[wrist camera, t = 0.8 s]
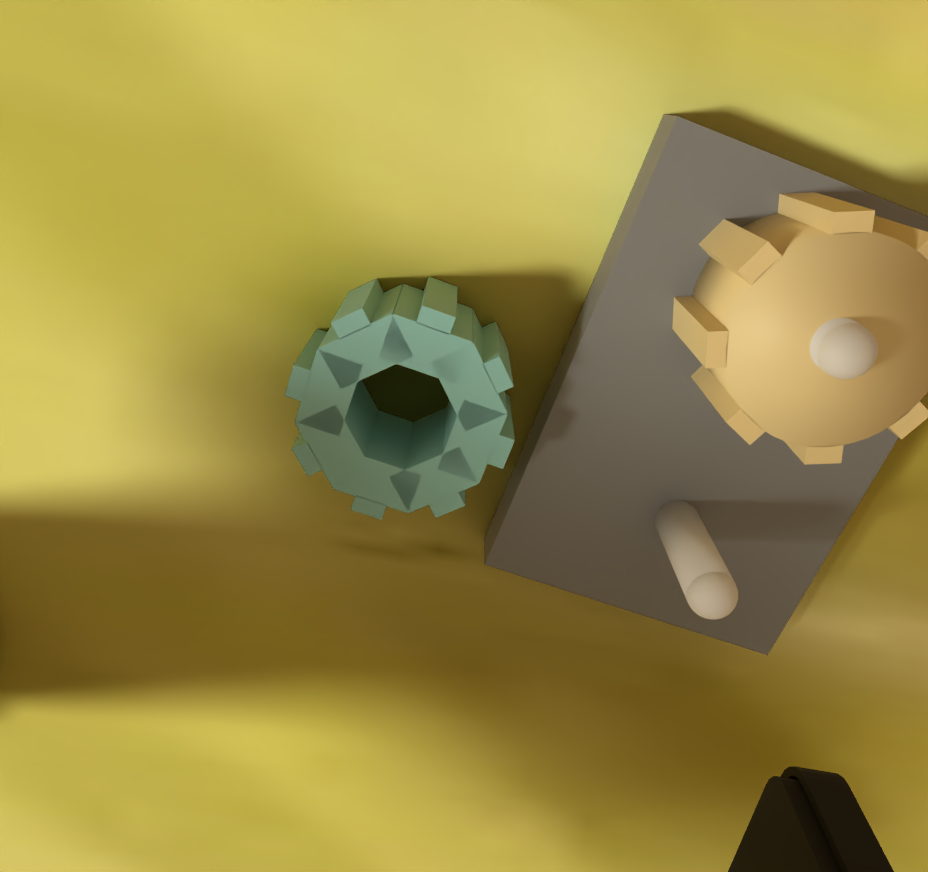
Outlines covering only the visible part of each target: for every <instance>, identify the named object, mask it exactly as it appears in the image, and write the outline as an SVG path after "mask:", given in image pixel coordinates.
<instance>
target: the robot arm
mask: <svg viewBox="0 0 928 872" xmlns="http://www.w3.org/2000/svg"><path fill="white" fill-rule="evenodd" d="M728 872H894V871H893V869H892V867H891V865H890V863H889V862H888V860H887V858H886V856H885V854H884V852H883V850H882V848H881V846H880V844H879V842H878V841H877V839H876V837H875V835H874V833H873V831H872V829H871V827H870V825H869V823H868V821H867V819H866V818H865V816H864V814H863V812H862V810H861V808H860V806H859V804H858V802H857V800H856V798H855V797H854V795H853V793H852V791H851V789H850V787H849V785H848V784H847V782H846V781H845V779H844V778H843V777H842V776H840V775H839V774H836V773H830V772H824V771H818V770H812V769H806V768H800V767H788V768H787V769H786V770H784V772H783V774H782V775H781V777H777V776H773V777H772V778H770V779H769V781H768V782H767V784H766V786H765V788H764V791H763V793H762V795H761V798H760V800H759V802H758V804H757V807H756V809H755V811H754V814H753V816H752V818H751V820H750V823H749V825H748V827H747V830H746V832H745V834H744V836H743V839H742V841H741V843H740V846H739V848H738V850H737V852H736V855H735V857H734V859H733V862H732V864H731V866H730V868H729V871H728Z"/></svg>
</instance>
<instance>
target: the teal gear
mask: <svg viewBox="0 0 928 872" xmlns="http://www.w3.org/2000/svg"><path fill="white" fill-rule="evenodd" d="M457 293H458V287H457V286H454V285H451V284H449V283H446V282H443V281H440V280H437V279H435V278H432V277H428V280H427V283H426V286H425V289H424V291H423V290H420V289H417V288H415V287H412V286H409V285H406V284H404V285H403V284H401V285H399V286H397V287H394V288H392V289H390V290H388V291H386V292H383V290H382V288H381V286H380V284H379V282H378V280H377V279H375V280H373V281H371V282H369V283H366V284H364V285H362V286H360V287H358V288H356V289H354V290H352V291H350V292H349V293H348V295H347V297H346V298H345V300H344V302H343V303H342V305H341V307H340V308H339V310H338V312H337V313H336V315H335V317H334V318H333V320H332V322H331V324H332V325H331V327H330V328H329V330H328V332H325V331H322V330H320V329H316V331H315V333H314V334H313V336H312V337H311V339H310V340H309V342H308V344H307V345H306V347H305V348H304V350H303V351H302V353H301V354H300V356H299V358H298V359H297V361H296V362H295V364H294V366H293V369H292V373H291V376H290V379H289V383H288V386H287V389H286V393H285V396H287V397H290V398H293V399H296V400H299V401H301V403H300V406H299V410H298V413H297V416H296V419H295V424H296V426H297V427H298V429H299V431H300V433H299V435H298V437H297V439H296V441H295V443H294V445H293V447H292V450H293V452H294V454H295V456H296V457H297V459H298V461H299V462H300V464H301V466H302V467H303V469H304V471H305V472H306V474H307V476H310V475H312V474H314V473H317V472H319V471H321V470H323V472H324V474H325V476H326V477H327V479H328V481H329V483H330V484H331V486H332V488H334V490H337V491H341V492H344V493H347V494H350V495H353V496H354V500H353V504H352V507H351V510H352V511H355V512H358V513H361V514H365V515H368V516H371V517H374V518H377V519H380V520H382V517H383V515H384V512H385V509H386V506H387V507H390V508H393V509H396V510H399V511H402V512H405V513H408V512H409V513H411V512H413V511H415V510H418V509H420V508H422V507H425V506H427V505H429V506H430V508H431V510H432V512H433V514H434V515H435V517H436V518H437V517H439V516H442V515H444V514H447V513H449V512H452V511H454V510H456V509H459V508H461V507H464V506H465V489H468V488H470V487H473V486H475V485H477V484H479V483H480V481H481V478H482V476H483V473H484V471H485V469H486V466H487V464H489V465H492V466H495V467H498V468H501V469H503V468H504V465H505V463H506V461H507V458H508V456H509V453H510V451H511V449H512V446H513V444H514V441H515V437H514V429H513V421H512V413H511V405H510V397H509V395H507V394H505V390H507V389H509V388H512V387H514V385H513V379H512V372H511V365H510V358H509V351H508V347H507V344H506V342H505V340H504V338H503V336H502V334H501V332H500V329H499V327H498V325H497V323H496V321H495V322H493V323H491V324H488V325H486V326H484V327H481V324H480V322H479V320H478V318H477V316H476V314H475V312H474V310H473V309H472V308H470V307H468V306H465V305H462V304H459V303H457ZM395 364H398V365H401V366H404V367H407V368H410V369H413V370H416V371H419V372H422V373H424V374H427V375H430V376H433V377H436V378H439V380H440V382H441V384H442V386H443V388H444V390H445V392H446V394H447V396H448V398H449V402H448V405H447V407H446V408H444V409H441V410H439V411H437V412H435V413H432V414H430V415H428V416H425V417H423V418H421V419H419V420H416V421H414V422H412V421H409V420H406V419H403V418H400V417H397V416H394V415H391V414H388V413H385V412H382V411H379V410H378V409H377V407H376V406H375V404H374V402H373V400H372V398H371V396H370V394H369V393H368V391H367V389H366V387H365V385H364V383H363V381H362V379H364V378H367V377H369V376H371V375H373V374H375V373H378V372H380V371H382V370H384V369H386V368H389V367H391V366H393V365H395Z"/></svg>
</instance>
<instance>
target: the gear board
mask: <svg viewBox="0 0 928 872" xmlns="http://www.w3.org/2000/svg"><path fill="white" fill-rule="evenodd" d="M927 392H928V216H925V215H923V214H920V213H918V212H915V211H913V210H910V209H908V208H905V207H903V206H900V205H898V204H895V203H893V202H891V201H888V200H886V199H883V198H881V197H878V196H876V195H873V194H871V193H868V192H866V191H863V190H861V189H858V188H856V187H853V186H851V185H848V184H846V183H843V182H841V181H838V180H836V179H833V178H831V177H828V176H826V175H823V174H821V173H818V172H816V171H813V170H811V169H808V168H806V167H803V166H801V165H798V164H796V163H793V162H791V161H788V160H786V159H783V158H781V157H778V156H776V155H773V154H771V153H768V152H766V151H763V150H761V149H758V148H756V147H753V146H751V145H748V144H746V143H743V142H741V141H738V140H736V139H733V138H731V137H728V136H726V135H724V134H721V133H719V132H716V131H714V130H711V129H709V128H706V127H704V126H701V125H699V124H696V123H694V122H691V121H689V120H686V119H684V118H681V117H679V116H673V115H666V114H664V115H663V117H662V120H661V122H660V124H659V127H658V129H657V132H656V134H655V136H654V139H653V141H652V143H651V146H650V148H649V150H648V153H647V155H646V158H645V160H644V162H643V165H642V167H641V169H640V172H639V174H638V176H637V179H636V181H635V183H634V186H633V188H632V191H631V193H630V195H629V198H628V200H627V202H626V205H625V207H624V209H623V212H622V214H621V217H620V219H619V221H618V224H617V226H616V228H615V231H614V233H613V235H612V238H611V240H610V243H609V245H608V247H607V250H606V252H605V254H604V257H603V259H602V261H601V264H600V266H599V269H598V271H597V273H596V276H595V278H594V280H593V283H592V285H591V287H590V290H589V292H588V295H587V297H586V299H585V302H584V304H583V306H582V309H581V311H580V313H579V316H578V318H577V321H576V323H575V325H574V328H573V330H572V332H571V335H570V337H569V339H568V342H567V344H566V347H565V349H564V351H563V354H562V356H561V358H560V361H559V363H558V365H557V368H556V370H555V372H554V375H553V377H552V380H551V382H550V384H549V387H548V389H547V391H546V394H545V396H544V398H543V401H542V403H541V406H540V408H539V410H538V413H537V415H536V417H535V420H534V422H533V424H532V427H531V429H530V432H529V434H528V436H527V439H526V441H525V443H524V446H523V448H522V450H521V453H520V455H519V458H518V460H517V462H516V465H515V467H514V469H513V472H512V474H511V476H510V479H509V481H508V484H507V486H506V488H505V491H504V493H503V495H502V498H501V500H500V502H499V505H498V507H497V510H496V512H495V514H494V517H493V519H492V521H491V524H490V526H489V528H488V531H487V533H486V536H485V538H484V552H485V565H488V566H491V567H494V568H497V569H500V570H503V571H506V572H510V573H513V574H516V575H519V576H522V577H525V578H528V579H531V580H535V581H538V582H541V583H544V584H547V585H550V586H553V587H556V588H560V589H563V590H566V591H569V592H572V593H575V594H578V595H581V596H585V597H588V598H591V599H594V600H597V601H600V602H603V603H606V604H610V605H613V606H616V607H619V608H622V609H625V610H628V611H631V612H635V613H638V614H641V615H644V616H647V617H650V618H653V619H656V620H660V621H663V622H666V623H669V624H672V625H675V626H678V627H681V628H685V629H688V630H691V631H694V632H697V633H700V634H703V635H706V636H709V637H713V638H716V639H719V640H722V641H725V642H728V643H731V644H734V645H738V646H741V647H744V648H747V649H750V650H753V651H756V652H759V653H763V654H766V655H768V653H769V652H770V650H771V648H772V647H773V645H774V643H775V642H776V640H777V638H778V637H779V635H780V634H781V632H782V630H783V629H784V627H785V625H786V624H787V622H788V620H789V619H790V617H791V615H792V614H793V612H794V610H795V609H796V607H797V605H798V604H799V602H800V600H801V599H802V597H803V595H804V594H805V592H806V590H807V589H808V587H809V585H810V584H811V582H812V580H813V579H814V577H815V575H816V574H817V572H818V571H819V569H820V567H821V566H822V564H823V562H824V561H825V559H826V557H827V556H828V554H829V552H830V551H831V549H832V547H833V546H834V544H835V542H836V541H837V539H838V537H839V536H840V534H841V532H842V531H843V529H844V527H845V526H846V524H847V522H848V521H849V519H850V517H851V516H852V514H853V512H854V511H855V509H856V507H857V506H858V504H859V503H860V501H861V499H862V498H863V496H864V494H865V493H866V491H867V489H868V488H869V486H870V484H871V483H872V481H873V479H874V478H875V476H876V474H877V473H878V471H879V469H880V468H881V466H882V464H883V463H884V461H885V459H886V458H887V456H888V454H889V453H890V451H891V449H892V448H893V446H894V444H895V443H896V441H897V440H898V438H900V439H903V438H904V437H905V436H906V435H908V434H909V433H910V432H911V431H912V430H914V429H915V428H916V427H917V426H919V425H920V424H921V423H922V422H923V421H925V420H926V419H927V418H928V410H927V409H926V407H925V406H924V405H923V404H922V403H921V402H920V401H921V400H922V398H923V397H924V396H925V395H926V394H927Z"/></svg>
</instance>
